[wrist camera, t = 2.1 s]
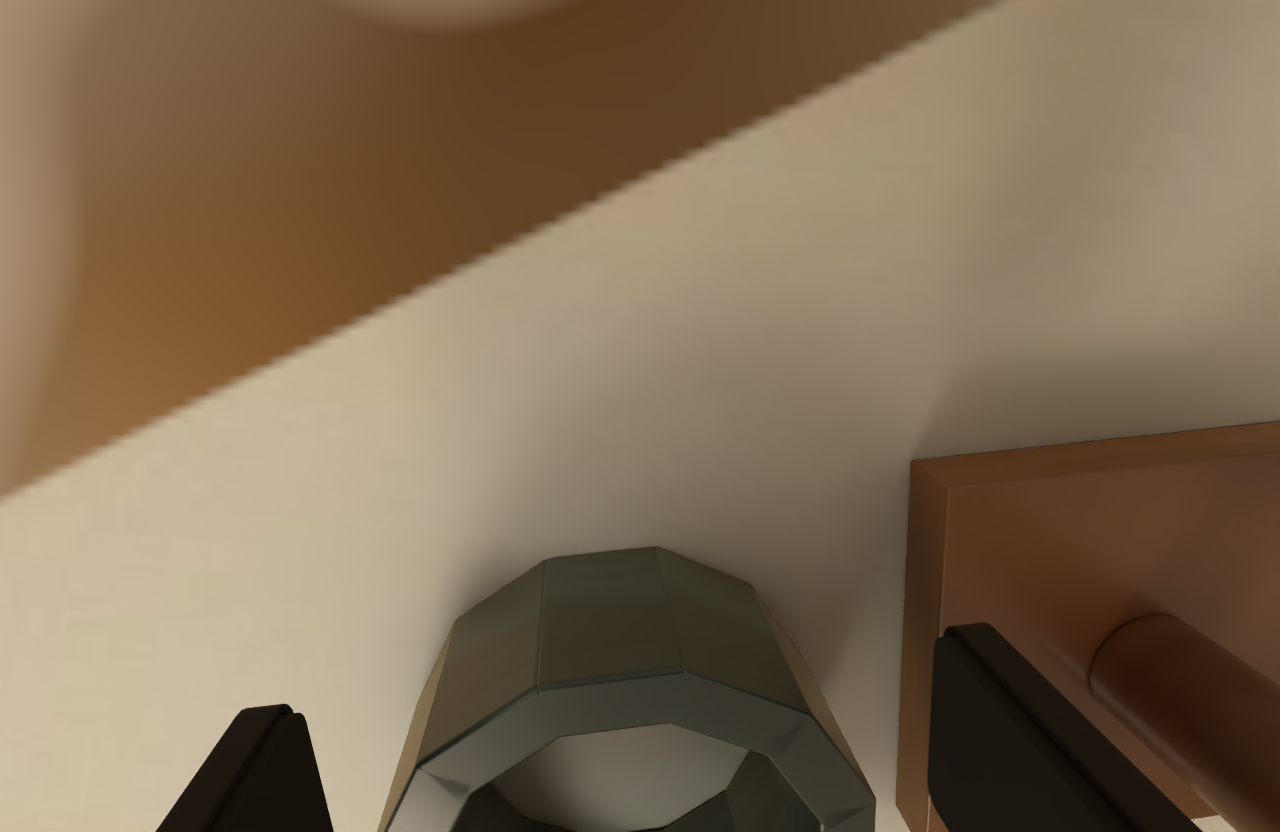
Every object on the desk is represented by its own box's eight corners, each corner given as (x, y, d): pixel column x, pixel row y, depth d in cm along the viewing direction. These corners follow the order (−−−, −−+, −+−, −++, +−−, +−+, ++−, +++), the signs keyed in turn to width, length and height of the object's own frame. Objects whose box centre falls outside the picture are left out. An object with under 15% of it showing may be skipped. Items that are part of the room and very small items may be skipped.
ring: (391, 574, 14) (322, 713, 10) (800, 528, 14) (883, 644, 11) (455, 889, 16) (419, 1098, 12) (802, 840, 17) (870, 1024, 13)
